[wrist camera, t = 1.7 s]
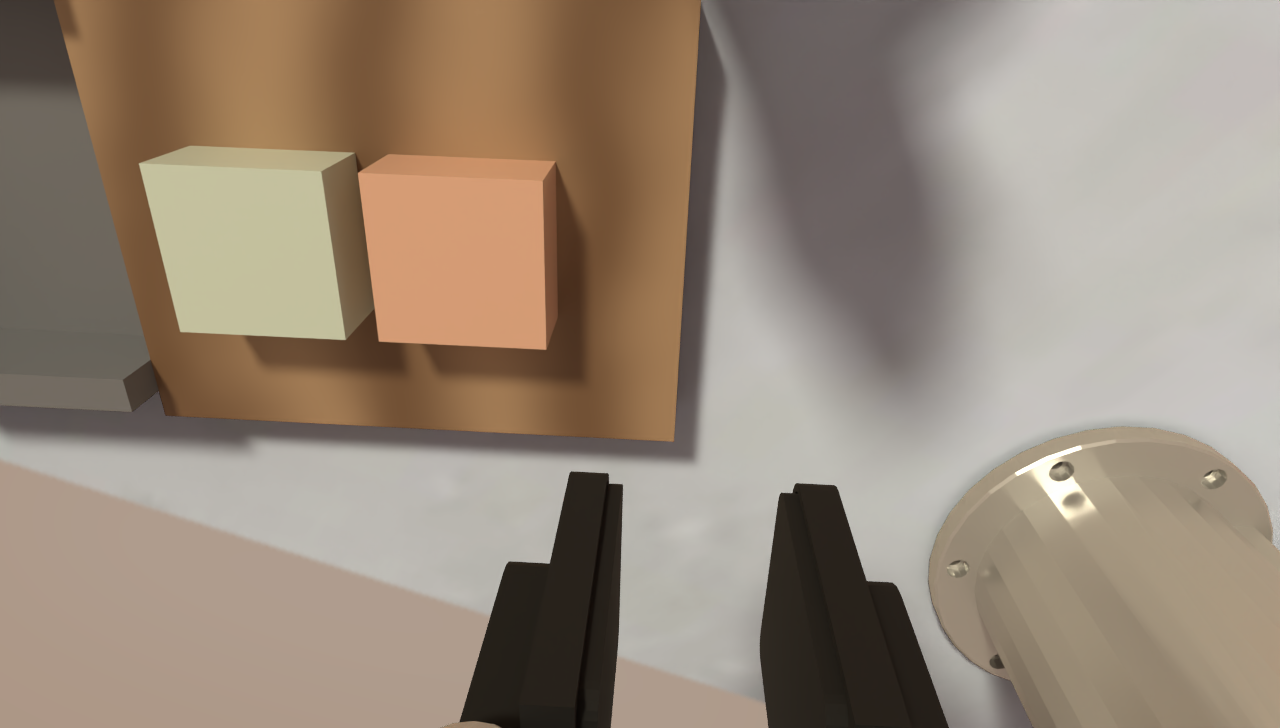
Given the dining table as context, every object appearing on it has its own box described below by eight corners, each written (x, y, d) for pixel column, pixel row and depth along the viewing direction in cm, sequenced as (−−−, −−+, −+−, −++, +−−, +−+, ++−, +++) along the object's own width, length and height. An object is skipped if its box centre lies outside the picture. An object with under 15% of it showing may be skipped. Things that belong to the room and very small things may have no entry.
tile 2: (555, 161, 23) (542, 181, 21) (558, 317, 26) (546, 349, 23) (388, 154, 23) (358, 173, 21) (404, 309, 26) (379, 341, 23)
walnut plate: (698, -3, 23) (700, -1, 21) (674, 406, 30) (673, 441, 27) (105, -26, 24) (46, -26, 22) (203, 383, 30) (165, 415, 28)
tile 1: (355, 152, 23) (321, 171, 21) (374, 308, 26) (345, 340, 23) (190, 145, 24) (138, 163, 21) (223, 300, 26) (180, 331, 24)
